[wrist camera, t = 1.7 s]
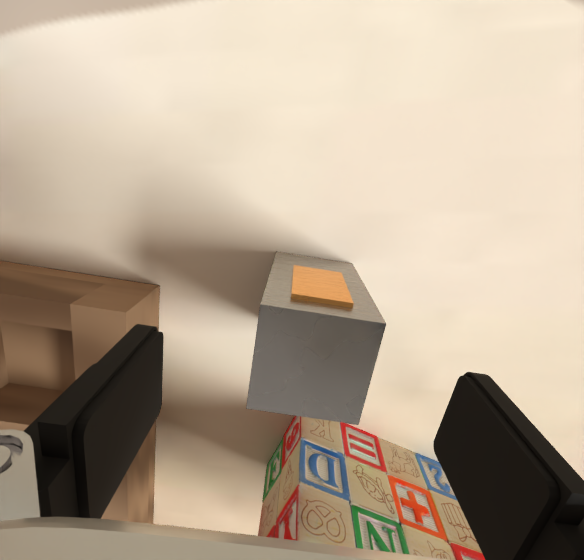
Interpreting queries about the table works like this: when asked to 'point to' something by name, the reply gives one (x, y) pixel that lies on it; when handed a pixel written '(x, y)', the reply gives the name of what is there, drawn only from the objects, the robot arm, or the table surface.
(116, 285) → the wooden socket board
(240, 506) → the table surface
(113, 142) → the table surface
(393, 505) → the stack of blocks
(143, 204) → the table surface
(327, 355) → the loose billet
